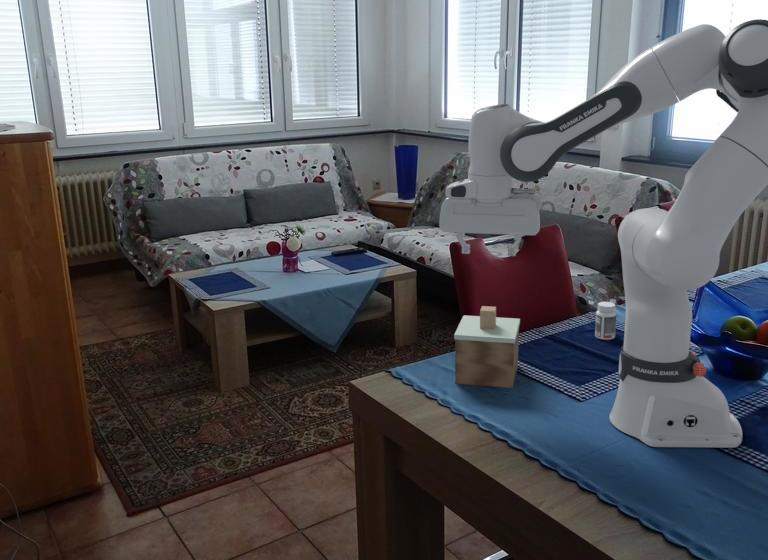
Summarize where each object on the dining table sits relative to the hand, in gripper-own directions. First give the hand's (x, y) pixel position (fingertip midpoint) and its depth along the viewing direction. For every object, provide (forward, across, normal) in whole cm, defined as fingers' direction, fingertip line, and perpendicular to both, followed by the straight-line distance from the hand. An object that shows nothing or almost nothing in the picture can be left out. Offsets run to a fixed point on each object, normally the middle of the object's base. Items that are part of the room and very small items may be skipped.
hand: (488, 254), depth 150 cm
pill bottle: (+27, -25, -28) cm, 46 cm away
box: (+27, 0, 0) cm, 27 cm away
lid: (+17, 0, 0) cm, 17 cm away
